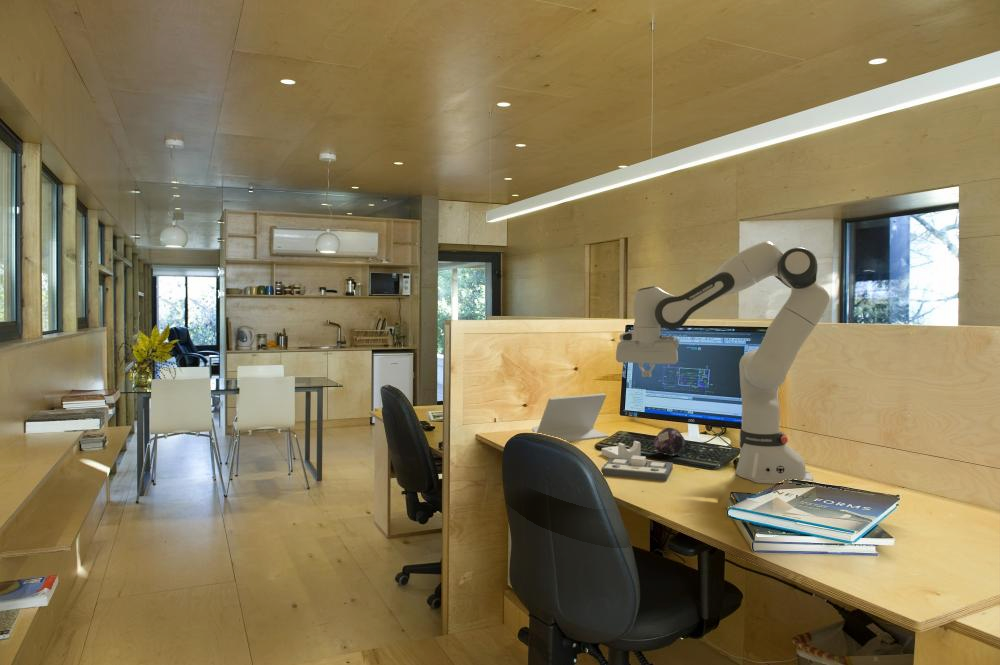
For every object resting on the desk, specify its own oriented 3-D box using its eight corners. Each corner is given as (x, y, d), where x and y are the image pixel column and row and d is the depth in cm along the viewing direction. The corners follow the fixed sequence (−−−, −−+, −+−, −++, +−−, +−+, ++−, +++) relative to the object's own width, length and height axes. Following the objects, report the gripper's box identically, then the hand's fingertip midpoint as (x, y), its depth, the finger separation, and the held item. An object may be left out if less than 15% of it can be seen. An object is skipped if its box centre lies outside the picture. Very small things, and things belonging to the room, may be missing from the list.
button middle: (645, 464, 226) (645, 456, 226) (643, 467, 222) (643, 459, 222) (633, 463, 227) (633, 455, 227) (630, 466, 224) (630, 458, 223)
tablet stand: (609, 437, 275) (609, 394, 274) (552, 444, 265) (552, 399, 264) (585, 428, 292) (585, 387, 290) (531, 434, 282) (531, 392, 280)
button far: (627, 467, 228) (627, 459, 228) (624, 470, 224) (624, 463, 224) (614, 466, 230) (614, 458, 229) (612, 469, 226) (612, 461, 226)
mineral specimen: (645, 447, 250) (655, 421, 251) (670, 457, 253) (680, 431, 253) (658, 453, 241) (668, 426, 241) (683, 463, 243) (694, 436, 244)
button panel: (672, 471, 226) (672, 461, 226) (666, 484, 213) (666, 473, 213) (611, 466, 234) (611, 456, 233) (601, 477, 221) (601, 467, 220)
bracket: (640, 464, 236) (640, 442, 235) (622, 467, 233) (622, 445, 233) (618, 455, 248) (618, 434, 247) (601, 458, 245) (601, 436, 244)
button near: (664, 470, 224) (664, 463, 224) (662, 474, 220) (663, 466, 220) (652, 469, 225) (652, 462, 225) (650, 473, 222) (650, 465, 221)
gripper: (680, 335, 234) (679, 376, 235) (618, 333, 241) (618, 373, 242) (677, 336, 228) (677, 379, 229) (614, 335, 235) (614, 376, 237)
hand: (646, 376), depth 236 cm, fingers closed
